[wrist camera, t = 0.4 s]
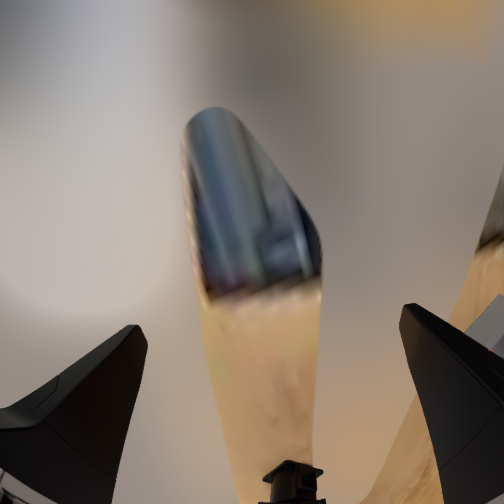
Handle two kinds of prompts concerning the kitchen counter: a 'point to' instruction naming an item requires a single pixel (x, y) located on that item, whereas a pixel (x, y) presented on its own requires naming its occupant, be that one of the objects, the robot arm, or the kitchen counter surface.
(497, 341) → the housing
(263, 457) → the kitchen counter surface
